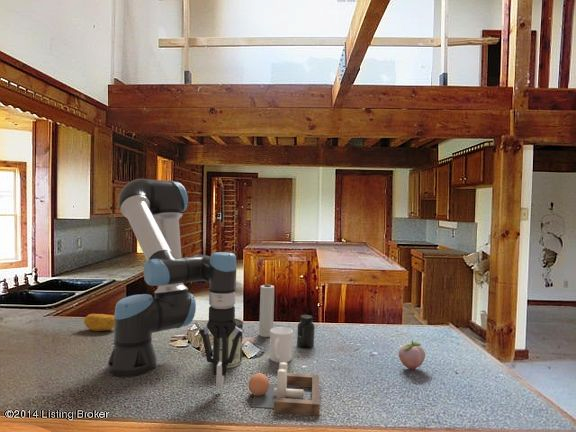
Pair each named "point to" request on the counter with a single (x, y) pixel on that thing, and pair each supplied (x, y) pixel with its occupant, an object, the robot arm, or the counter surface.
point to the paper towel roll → (266, 310)
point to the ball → (258, 384)
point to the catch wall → (298, 404)
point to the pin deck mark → (268, 397)
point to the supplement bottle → (305, 332)
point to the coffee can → (238, 353)
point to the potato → (99, 322)
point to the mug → (281, 344)
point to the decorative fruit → (411, 355)
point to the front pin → (291, 393)
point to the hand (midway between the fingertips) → (219, 385)
